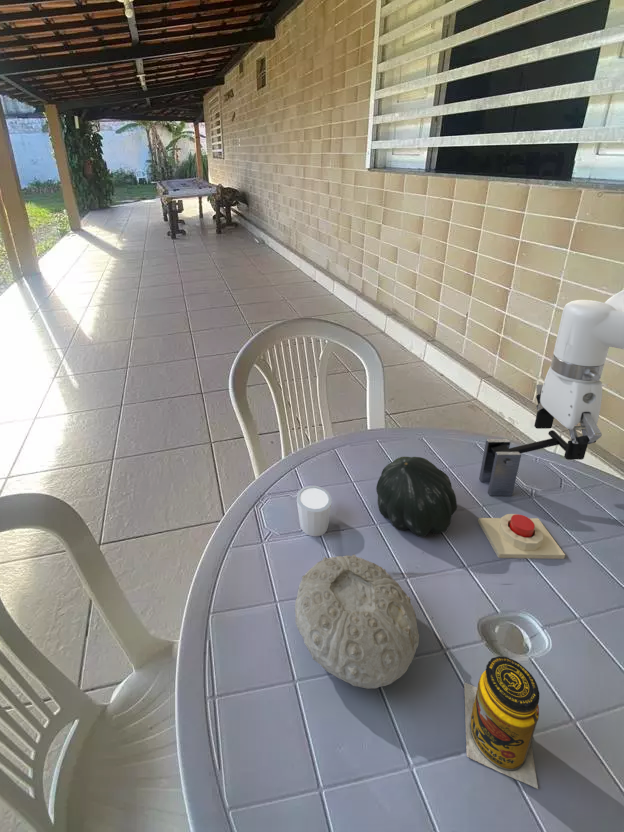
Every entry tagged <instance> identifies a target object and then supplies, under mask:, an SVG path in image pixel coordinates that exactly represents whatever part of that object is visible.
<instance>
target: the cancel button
mask: <svg viewBox="0 0 624 832" xmlns="http://www.w3.org/2000/svg"><path fill="white" fill-rule="evenodd" d="M515 514H516V515H513V516H512V517H511V521H510V529H511V530H512V531H513V532H514V533H515V534H517V535H519V536H521V537H526V538H528V537H531V536H532V535H533V532H534V528H535V525H534V523H533V521H532V520H530V519H529V518H530V517H528V516H526V515H523V514H518V513H515Z"/></svg>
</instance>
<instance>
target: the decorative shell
mask: <svg viewBox="0 0 624 832" xmlns="http://www.w3.org/2000/svg"><path fill="white" fill-rule="evenodd" d="M411 599H412V598H411V597H410V596H408V595H407V593H406V592H405V590H404V589H403V588H402V587H401V585H400V584H399V582H397V581H396V580H395V579H394V578H393V577H392V576H391V575H390V574H389V573H388V572H387V571H386V569H385V568H383V567H382V566H379V565H378V564H376V563H375V562H371V561H369V560H367V559H364V558H362V557H358V556H357V555H356V554H352V555H343V556H342V555H338V556H335V557H334V556H331V557H326V556H324V557H323V558H322V560H320V561H317V562H316V564H314V565H313V566H312V567H311V568H309V570H308V571H307V572H305V574H304V575H303V576H302V577H301V581H300V583H299V586H298V589H297V596H296V599H295V603H294V613H295V619H294V622H295V626H296V628H297V630H298V632H299V634H300V635H301V637H302V639H303V643H304V645H305V646H306V648H307V650H308V652H309V655H310V656H311V657H312V660H313V661H314V662H316V663H318V665H320V666H321V667H322V668H323V669H324V670H325V671H326V672H327V673H329V674H330V675H332V676H334V677H336V678H338V679H340V680H342V681H343V682H345V683H347V684H350V685H351V686H353V687H357V688H364V689H367V690H369V689H373V690H374V689H378V688H381V687H386V686H389V685H392V684H393V683H394V682H396V681H397V680H399V679H400V678H401V677H403V676H404V675H405V673H406V672H407V671H408V670H409V667H410V665H411V664H412V662H413V660H414V658H415V655H416V651H417V649H418V647H419V643H420V634H419V630H418V624H417V616H416V611H415V608H414V606H413V603H412V602H411Z"/></svg>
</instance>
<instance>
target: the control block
mask: <svg viewBox="0 0 624 832" xmlns="http://www.w3.org/2000/svg"><path fill="white" fill-rule="evenodd" d="M516 514H517V513H506V514H504V515H503V516H501V517H478V520H477V523H478V525H479V526H480V528H481V529H482V532H483V533H484V535H485V537H486V538H487V540H488V542H489V544H490V545H491V547H492V550H493V551H494V552H495V555H496V556H497V558H498V559H541V560H544V559H547V560H548V559H549V560H550V559H553V560H564V559H565V558H566V554H565V553H564V551H563V550H562V549H561V547H560V546H559V544H558V542H556V540H555V539H554V538H553V536H552V535H551V533H550V532H549V531H548V528H546V526H545V525H544V524H543V523H542V521H541V520H540V519H539V518H538V517H536V518H535V517H534V518H533V517H528V518H529V519H530V520H532V521H533V523H534V525H535V528H534V532H533V535H532V536H531V537H528V538H526V537H521V536H519V535H517V534H515V533H514V532H513V531H512V530H511V529H510V521H511V517H512V516H513V515H516Z"/></svg>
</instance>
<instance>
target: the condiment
mask: <svg viewBox="0 0 624 832" xmlns="http://www.w3.org/2000/svg"><path fill="white" fill-rule="evenodd" d="M463 687H464V688H463V689H464V720H465V721H464V722H465V724H464V725H465V743H466V744H465V749H466V750H465V753H466V757H467V758H469V759H471V760H473V761H475V762H477V763H479V764H482V765H483V766H485V767H487V768H490V769H492V770H494V771H496V772H497V773H501V774H503V775H505V776H507V777H510V778H511V779H514V780H516V781H518V782H522V783H524V784H525V785H527V786H530V787H532V788H534V789H536V790H539V786H538V780H537V772H536V764H535V759H534V751H533V744H532V739H533V737H534V733H535V730H536V727H537V724H538V721H539V717H540V708H539V703H540V690H539V686H538V683H537V681H536V679H535V677H534V676H533V674H532V673H530V671H529V670H528V669H527V668H525V666H523V665H522V664H521V663H520V662H518V661H517V660H515V659H512V658H510V657H508V656H499V655H498V656H495V657H492V658H491V659H490V660H489V661H488V662H487V664H486V667H485V670H484V671H482V673H481V675H480V677H479V680H478V683H477V686H474V685H472V684H470V683H467V682H463Z"/></svg>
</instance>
